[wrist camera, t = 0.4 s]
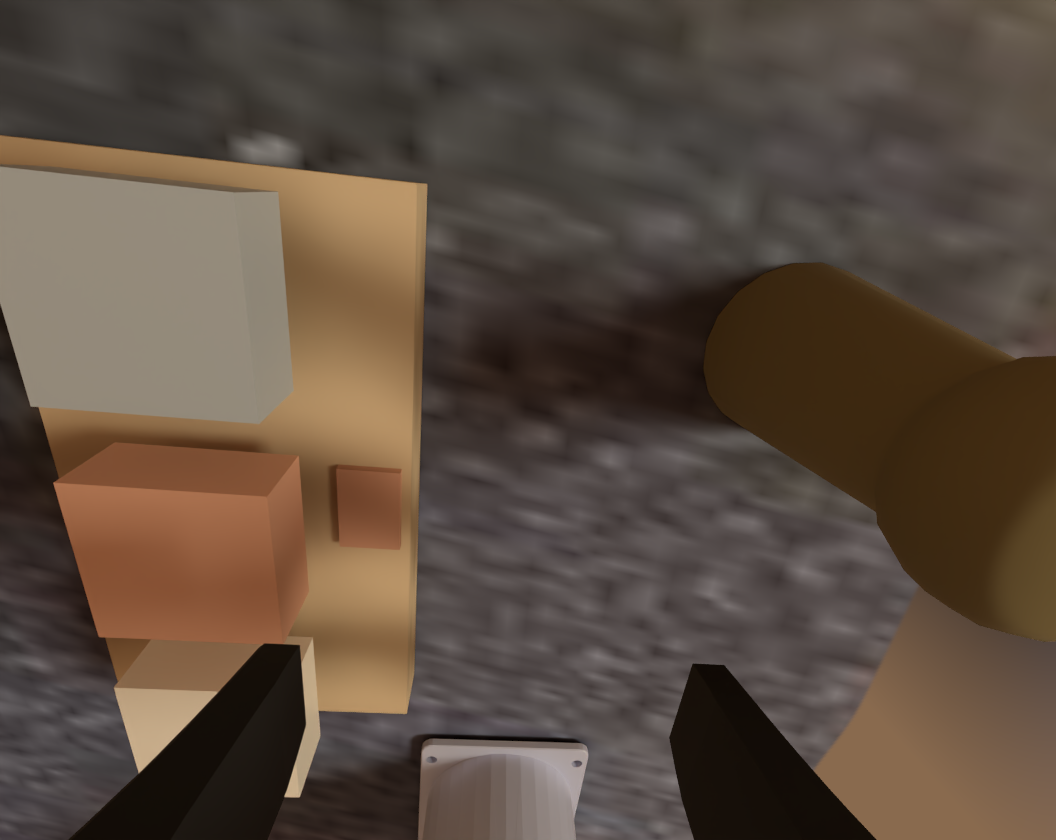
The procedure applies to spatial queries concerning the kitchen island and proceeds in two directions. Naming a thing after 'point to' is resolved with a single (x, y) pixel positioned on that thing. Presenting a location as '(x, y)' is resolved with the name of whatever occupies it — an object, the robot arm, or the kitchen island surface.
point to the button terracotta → (188, 542)
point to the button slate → (144, 294)
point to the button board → (314, 406)
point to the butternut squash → (905, 432)
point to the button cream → (199, 694)
